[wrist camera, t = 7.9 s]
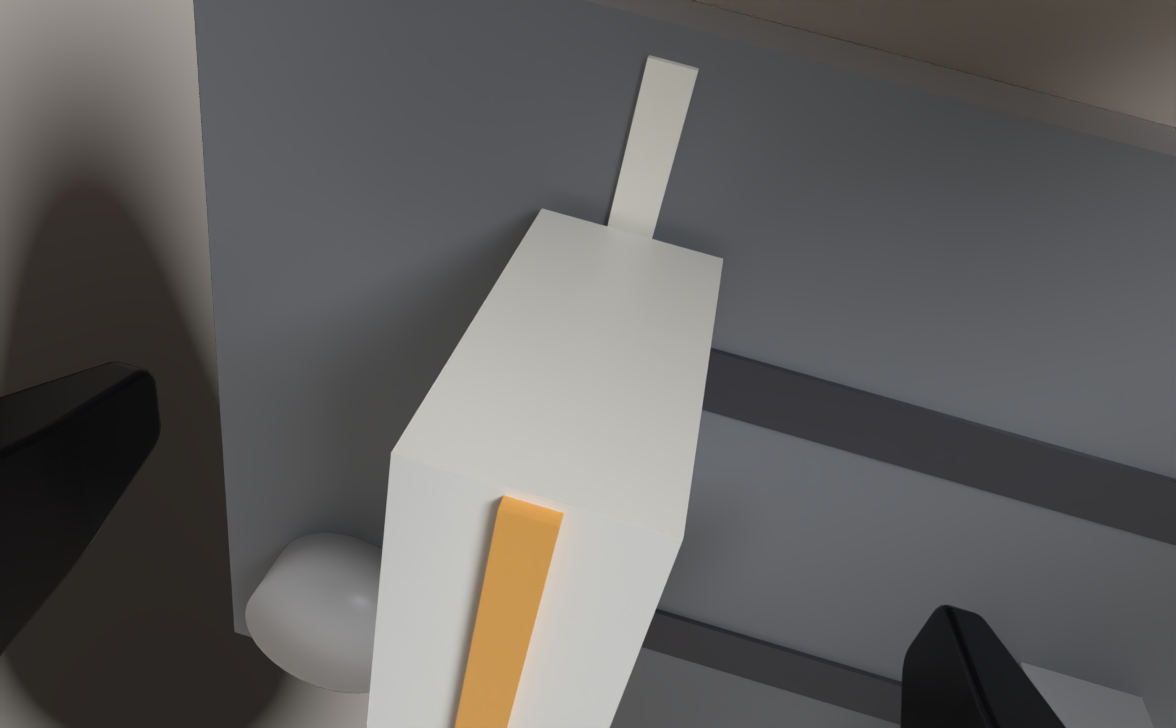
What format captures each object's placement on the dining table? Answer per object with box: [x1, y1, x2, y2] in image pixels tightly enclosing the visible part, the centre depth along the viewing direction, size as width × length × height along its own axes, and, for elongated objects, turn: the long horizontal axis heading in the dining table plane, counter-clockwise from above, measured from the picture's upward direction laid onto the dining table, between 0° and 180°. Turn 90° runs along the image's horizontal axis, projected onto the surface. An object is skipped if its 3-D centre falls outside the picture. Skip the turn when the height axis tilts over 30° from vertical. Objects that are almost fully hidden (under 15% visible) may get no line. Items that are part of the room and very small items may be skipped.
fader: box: [366, 209, 723, 728], centre depth 10 cm, size 2×4×5 cm, turn 168°
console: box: [193, 0, 1176, 728], centre depth 13 cm, size 22×14×4 cm, turn 78°
